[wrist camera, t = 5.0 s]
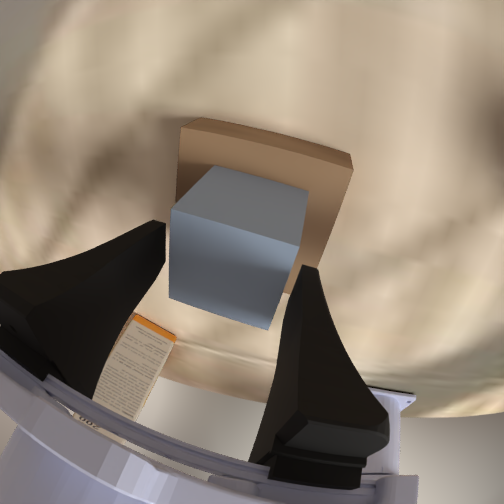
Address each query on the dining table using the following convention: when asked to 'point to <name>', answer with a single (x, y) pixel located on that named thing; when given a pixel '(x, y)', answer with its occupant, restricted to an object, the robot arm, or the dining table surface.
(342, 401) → the robot arm
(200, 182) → the cube
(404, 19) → the dining table surface
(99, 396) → the supplement box
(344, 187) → the base
